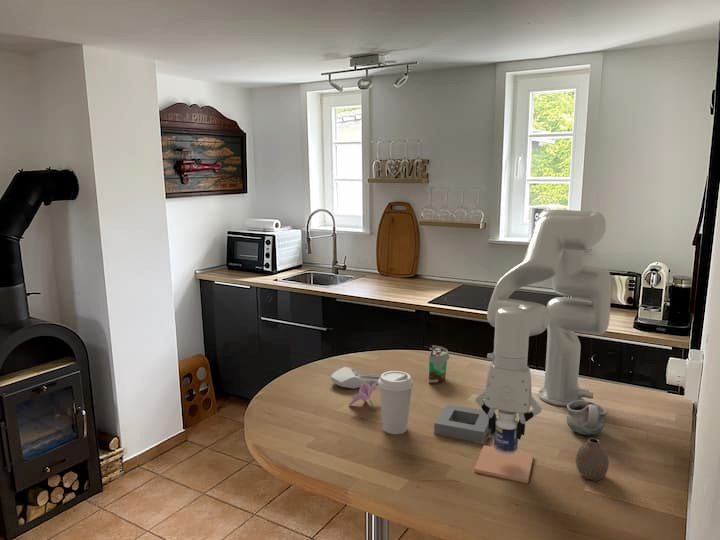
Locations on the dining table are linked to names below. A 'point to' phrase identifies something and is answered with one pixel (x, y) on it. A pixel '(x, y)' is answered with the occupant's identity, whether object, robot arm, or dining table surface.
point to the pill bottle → (506, 433)
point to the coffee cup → (395, 400)
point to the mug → (585, 417)
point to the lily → (365, 393)
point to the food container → (437, 364)
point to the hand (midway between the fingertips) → (506, 433)
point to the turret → (352, 378)
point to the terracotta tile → (504, 464)
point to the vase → (592, 460)
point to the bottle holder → (462, 430)
